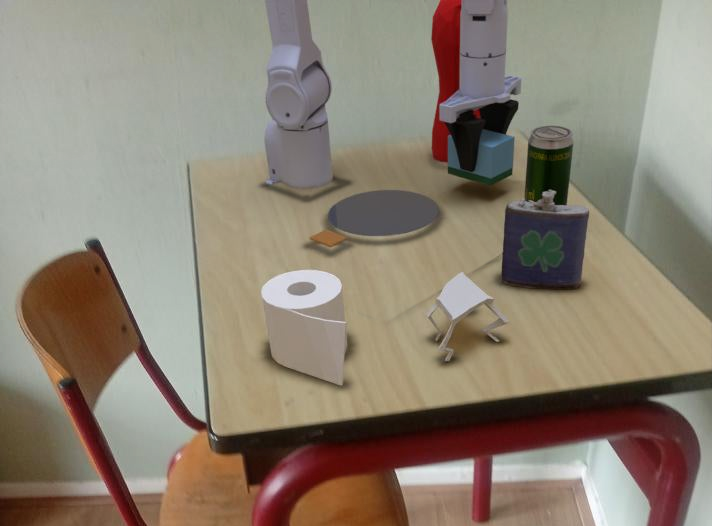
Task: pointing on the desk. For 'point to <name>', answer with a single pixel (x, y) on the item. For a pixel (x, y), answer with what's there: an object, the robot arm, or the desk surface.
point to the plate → (383, 213)
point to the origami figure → (463, 306)
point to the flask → (544, 243)
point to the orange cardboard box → (328, 238)
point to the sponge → (486, 158)
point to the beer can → (549, 163)
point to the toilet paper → (307, 323)
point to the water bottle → (446, 67)
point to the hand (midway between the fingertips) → (479, 164)
